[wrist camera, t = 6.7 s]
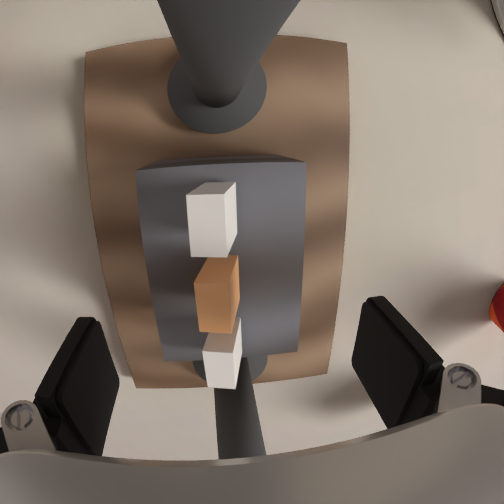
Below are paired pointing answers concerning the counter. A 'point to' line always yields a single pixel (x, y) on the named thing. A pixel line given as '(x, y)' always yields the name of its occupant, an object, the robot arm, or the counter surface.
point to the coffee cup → (498, 308)
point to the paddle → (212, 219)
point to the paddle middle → (217, 294)
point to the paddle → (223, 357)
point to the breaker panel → (163, 135)
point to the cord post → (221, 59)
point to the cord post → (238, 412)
